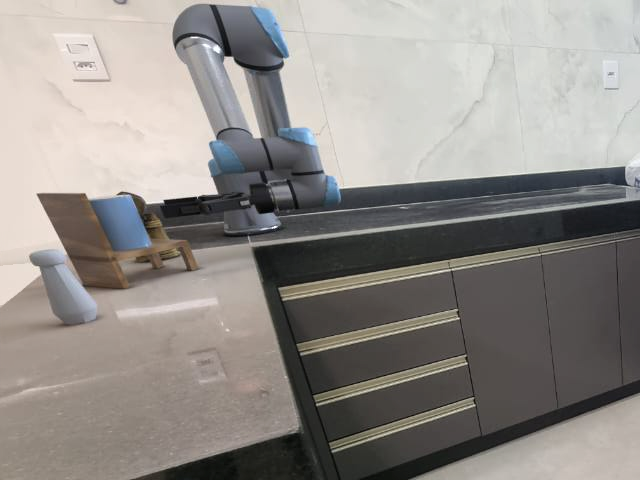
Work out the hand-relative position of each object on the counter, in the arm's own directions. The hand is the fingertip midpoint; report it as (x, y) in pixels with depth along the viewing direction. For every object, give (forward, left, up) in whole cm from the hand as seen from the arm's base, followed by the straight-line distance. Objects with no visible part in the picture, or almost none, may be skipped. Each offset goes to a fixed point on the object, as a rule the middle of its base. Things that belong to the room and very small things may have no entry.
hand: (163, 208), depth 122 cm
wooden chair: (+7, -5, -14) cm, 17 cm away
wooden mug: (-6, -21, -15) cm, 26 cm away
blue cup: (+8, -6, -7) cm, 12 cm away
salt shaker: (+31, +18, -15) cm, 39 cm away
